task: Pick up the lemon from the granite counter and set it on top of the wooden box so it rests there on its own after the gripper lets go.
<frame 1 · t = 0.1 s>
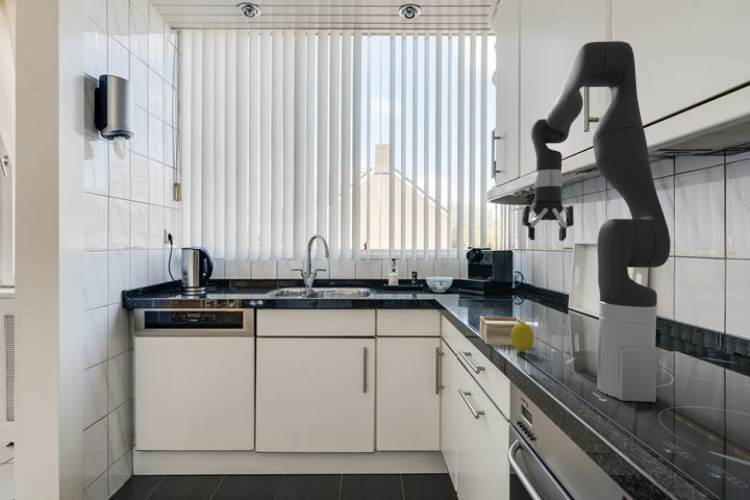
hand: (546, 240, 121), 29 cm above the worktop, tool pointing down, fingers open, 8 cm apart
wooden box: (502, 340, 117), on the worktop
chinaware: (439, 292, 226), on the worktop
lemon: (522, 353, 104), on the worktop
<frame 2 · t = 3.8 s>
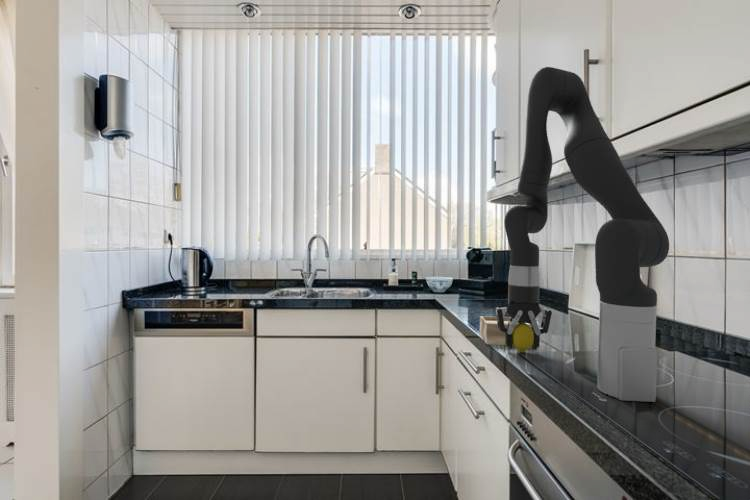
hand: (522, 348, 104), 1 cm above the worktop, tool pointing down, fingers closed on lemon, 5 cm apart
lemon: (522, 353, 104), on the worktop, touching gripper
everything else where it was.
when the fingers open (7 cm above the worktop, at t = 8.8 s): lemon drops 2 cm, resting on wooden box.
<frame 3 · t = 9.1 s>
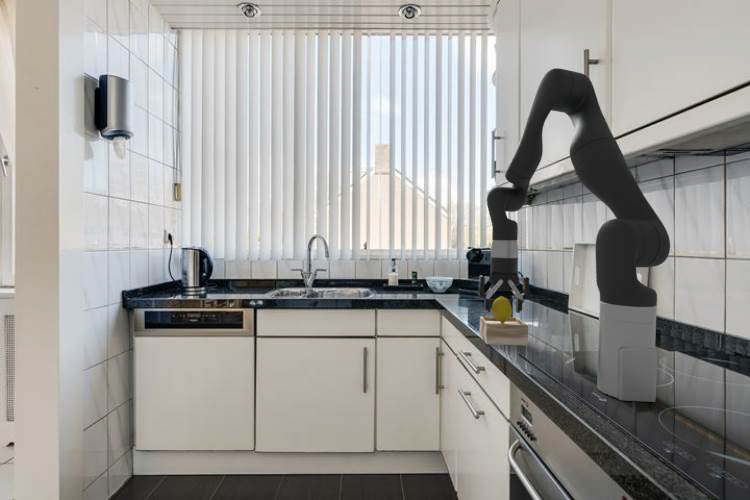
hand: (503, 311, 117), 8 cm above the worktop, tool pointing down, fingers open, 8 cm apart
wooden box: (502, 341, 117), on the worktop, touching lemon
lemon: (502, 324, 117), point 5 cm above the worktop, touching wooden box
everything else where it was.
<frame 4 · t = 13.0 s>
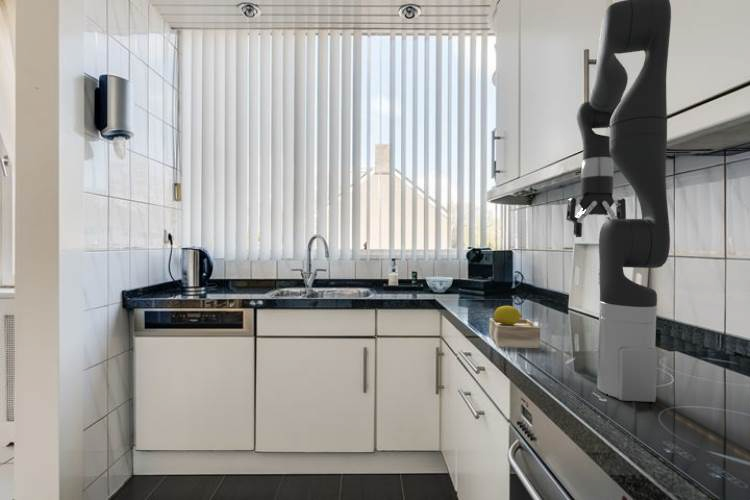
hand: (595, 237, 108), 30 cm above the worktop, tool pointing down, fingers open, 8 cm apart
wooden box: (513, 343, 115), on the worktop, touching lemon
lemon: (522, 316, 114), point 7 cm above the worktop, touching wooden box
everything else where it was.
at the end: lemon inside the target area on the wooden box (2.6 cm from its centre), point 7.9 cm above the wooden box's base; lemon touching wooden box; the gripper is holding nothing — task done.
